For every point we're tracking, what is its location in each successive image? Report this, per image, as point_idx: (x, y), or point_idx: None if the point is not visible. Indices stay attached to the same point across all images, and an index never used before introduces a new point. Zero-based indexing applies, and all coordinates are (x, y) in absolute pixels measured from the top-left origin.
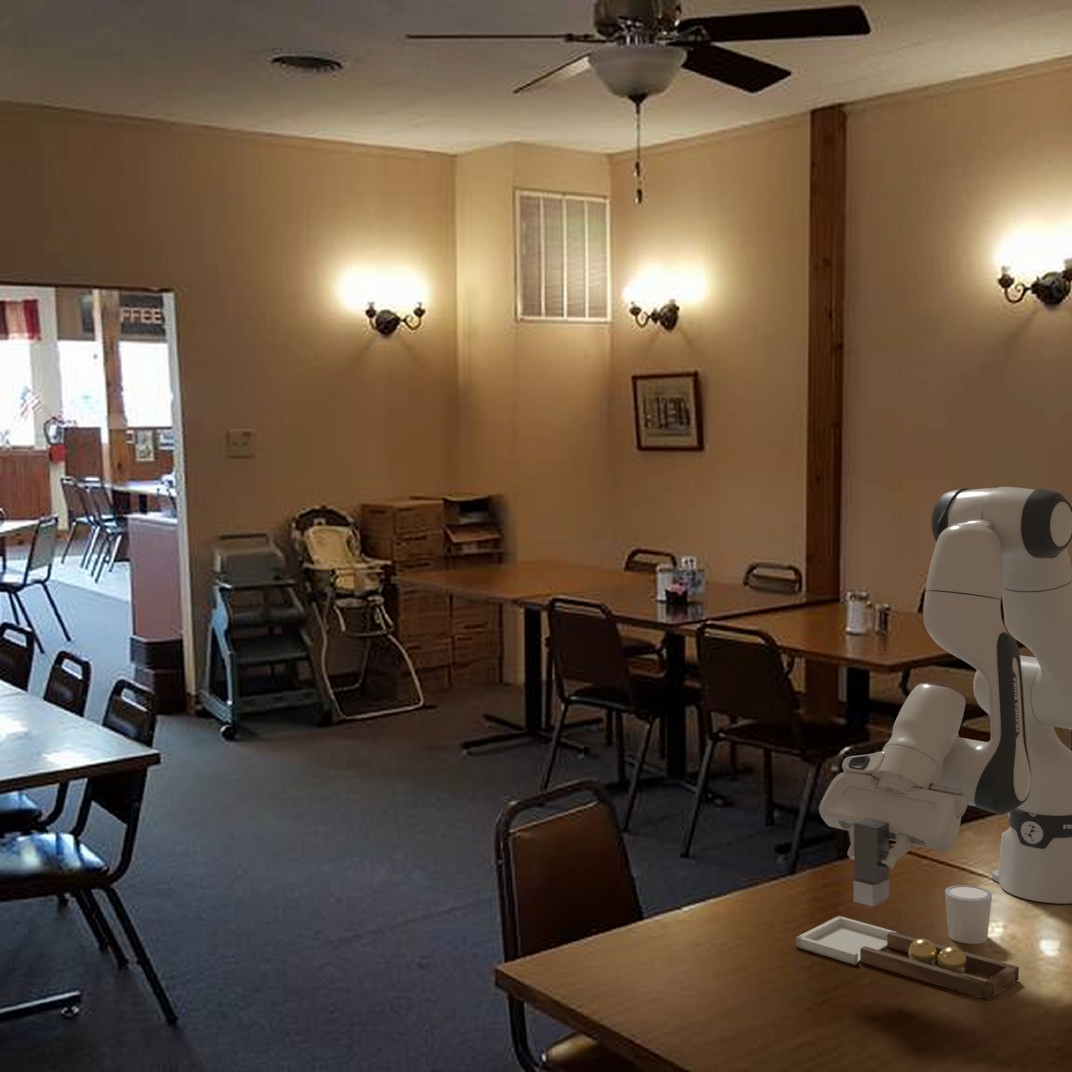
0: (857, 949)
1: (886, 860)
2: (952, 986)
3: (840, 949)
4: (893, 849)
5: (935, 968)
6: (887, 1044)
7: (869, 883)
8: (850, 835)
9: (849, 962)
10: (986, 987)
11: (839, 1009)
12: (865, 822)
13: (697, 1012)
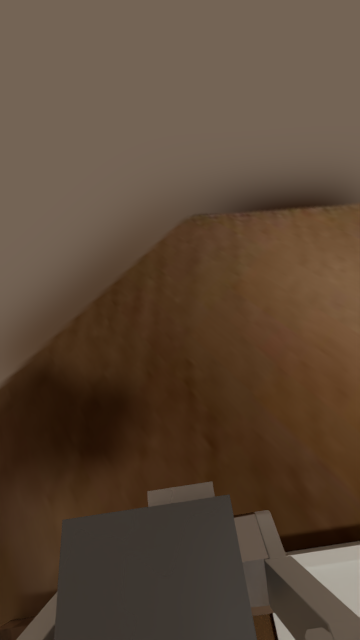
0: None
1: None
2: None
3: (298, 560)
4: (55, 604)
5: None
6: (74, 365)
7: (163, 499)
8: (323, 592)
9: None
10: (3, 627)
11: (163, 392)
12: (187, 579)
13: (254, 273)
